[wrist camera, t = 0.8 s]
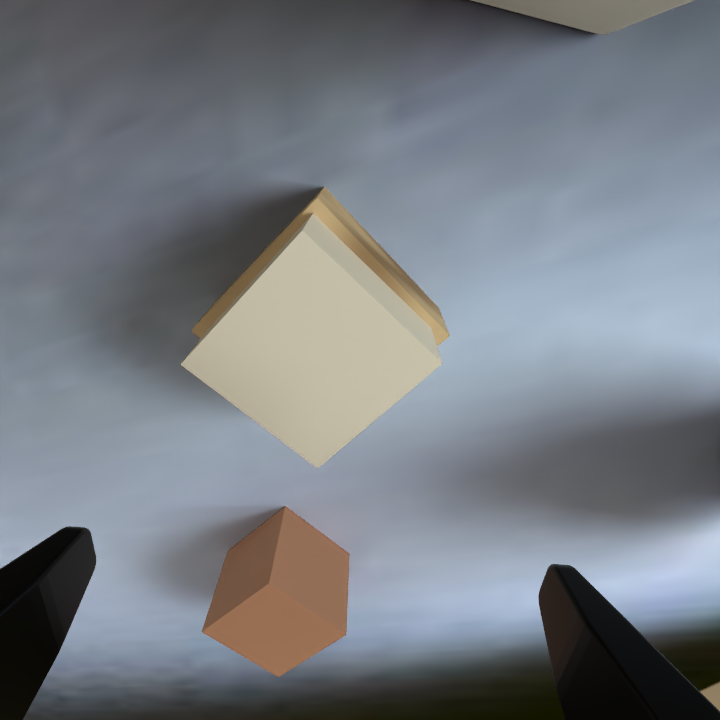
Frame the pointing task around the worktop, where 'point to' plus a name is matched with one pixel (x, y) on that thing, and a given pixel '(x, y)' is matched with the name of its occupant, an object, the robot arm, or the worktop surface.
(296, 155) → the worktop surface
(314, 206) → the oak base block
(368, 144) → the worktop surface
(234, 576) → the terracotta block
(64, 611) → the robot arm
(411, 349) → the cream block
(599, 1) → the medicine bottle
